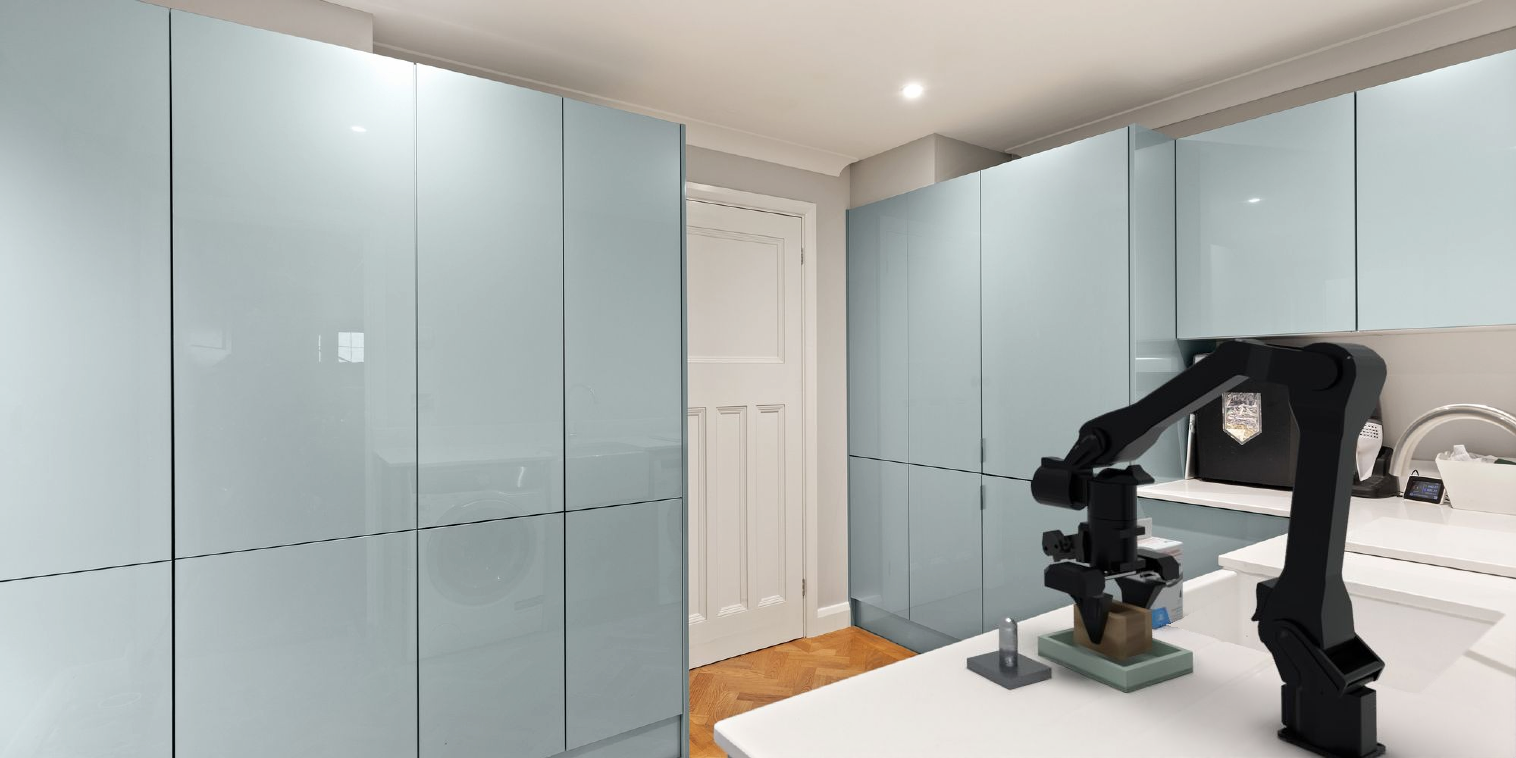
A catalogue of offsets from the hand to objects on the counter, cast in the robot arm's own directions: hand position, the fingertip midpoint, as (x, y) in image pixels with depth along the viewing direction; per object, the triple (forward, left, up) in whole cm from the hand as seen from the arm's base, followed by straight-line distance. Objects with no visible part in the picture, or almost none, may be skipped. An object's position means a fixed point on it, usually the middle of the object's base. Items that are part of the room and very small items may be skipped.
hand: (1113, 638), depth 89 cm
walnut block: (0, 0, -1) cm, 1 cm away
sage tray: (0, 0, -3) cm, 3 cm away
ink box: (+8, -20, -3) cm, 22 cm away
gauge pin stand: (+4, +14, -3) cm, 15 cm away
